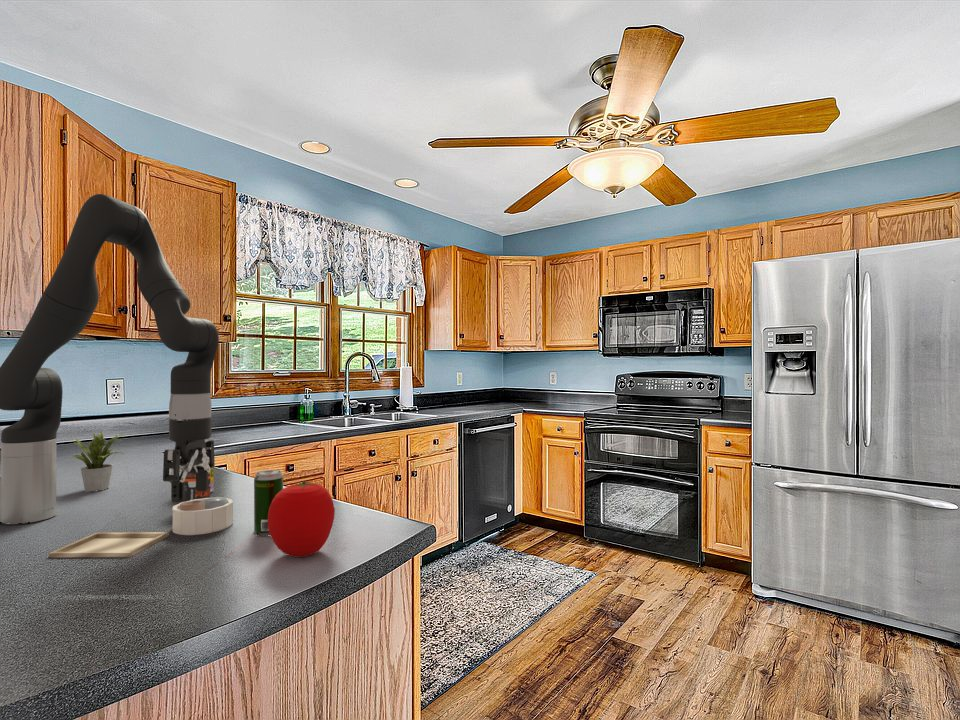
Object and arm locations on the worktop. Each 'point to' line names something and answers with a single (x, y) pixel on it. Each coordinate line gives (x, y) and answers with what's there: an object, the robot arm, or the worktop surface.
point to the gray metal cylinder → (215, 502)
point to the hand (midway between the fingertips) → (190, 496)
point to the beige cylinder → (191, 506)
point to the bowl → (202, 519)
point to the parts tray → (110, 545)
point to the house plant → (96, 463)
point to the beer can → (265, 497)
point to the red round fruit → (301, 518)
